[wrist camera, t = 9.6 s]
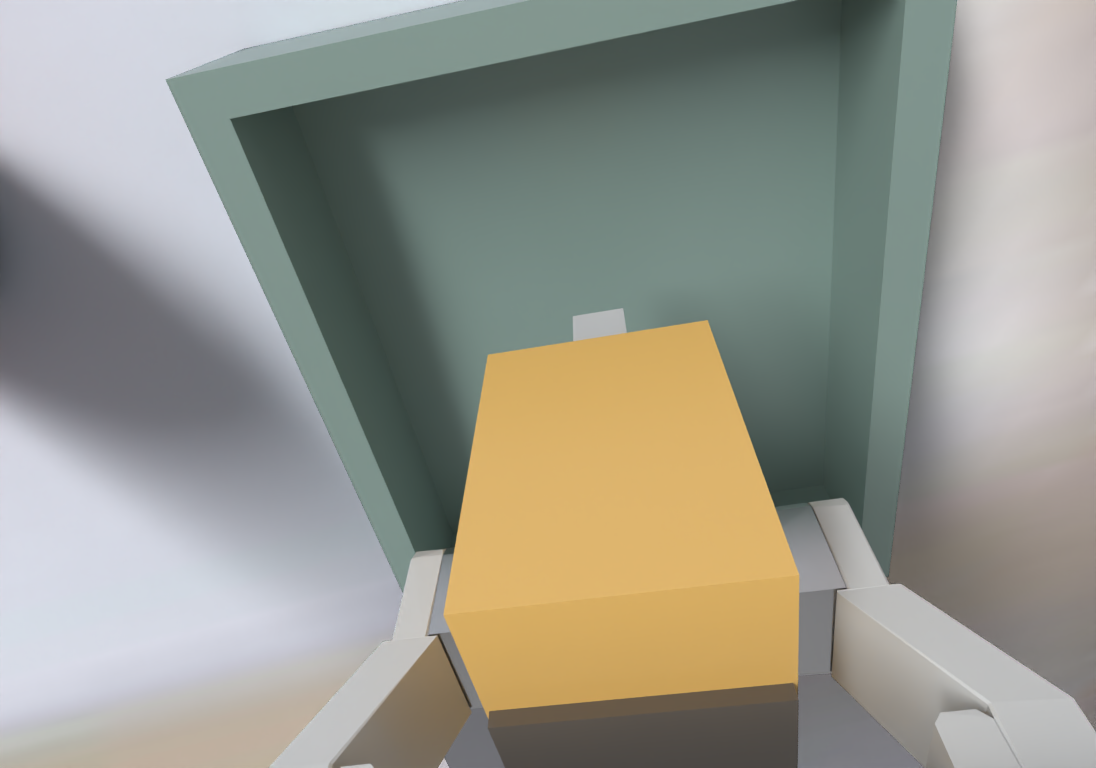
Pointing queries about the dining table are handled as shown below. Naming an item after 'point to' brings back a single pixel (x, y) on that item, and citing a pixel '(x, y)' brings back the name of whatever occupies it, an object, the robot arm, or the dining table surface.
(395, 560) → the parts tray
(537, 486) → the block
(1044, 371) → the dining table surface
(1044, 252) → the dining table surface
